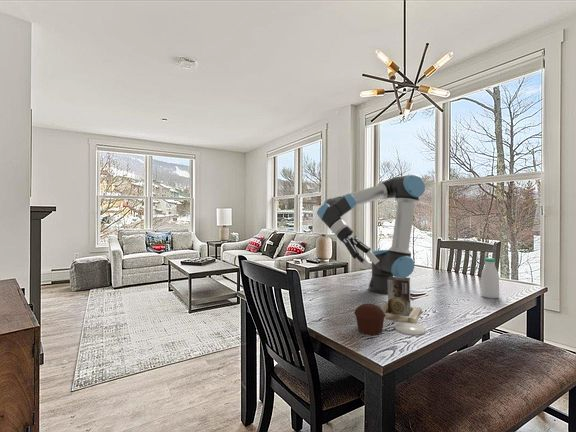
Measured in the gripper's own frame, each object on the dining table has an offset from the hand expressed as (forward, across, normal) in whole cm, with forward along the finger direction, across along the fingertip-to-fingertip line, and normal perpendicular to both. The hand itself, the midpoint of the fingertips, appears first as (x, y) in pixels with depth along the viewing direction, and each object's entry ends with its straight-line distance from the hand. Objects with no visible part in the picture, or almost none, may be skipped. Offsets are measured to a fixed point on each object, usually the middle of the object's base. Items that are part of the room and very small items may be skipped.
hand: (373, 264), depth 142 cm
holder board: (+23, -1, -7) cm, 24 cm away
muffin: (+19, +23, -12) cm, 32 cm away
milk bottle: (+47, -52, +18) cm, 72 cm away
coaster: (+28, +14, -2) cm, 31 cm away
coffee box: (+23, -1, -7) cm, 24 cm away
